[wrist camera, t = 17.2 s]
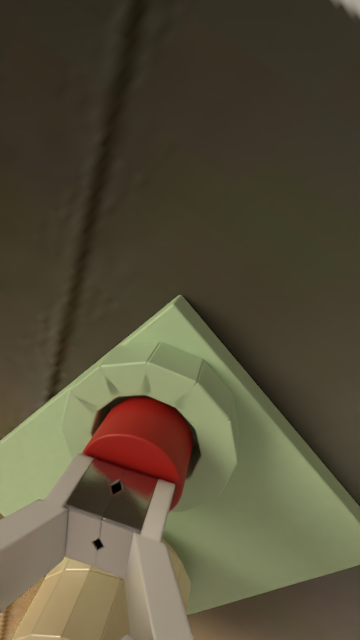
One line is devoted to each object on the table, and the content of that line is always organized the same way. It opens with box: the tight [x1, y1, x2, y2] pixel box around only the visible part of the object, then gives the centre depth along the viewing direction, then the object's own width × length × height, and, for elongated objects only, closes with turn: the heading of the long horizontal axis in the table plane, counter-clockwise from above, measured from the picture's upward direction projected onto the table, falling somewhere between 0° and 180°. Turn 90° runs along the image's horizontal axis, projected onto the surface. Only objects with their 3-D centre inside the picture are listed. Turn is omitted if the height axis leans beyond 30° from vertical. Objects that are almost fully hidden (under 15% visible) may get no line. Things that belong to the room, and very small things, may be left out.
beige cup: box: [11, 538, 191, 640], centre depth 13 cm, size 6×6×4 cm
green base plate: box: [0, 295, 360, 615], centre depth 13 cm, size 15×13×3 cm
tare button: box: [82, 397, 193, 512], centre depth 10 cm, size 3×3×2 cm
